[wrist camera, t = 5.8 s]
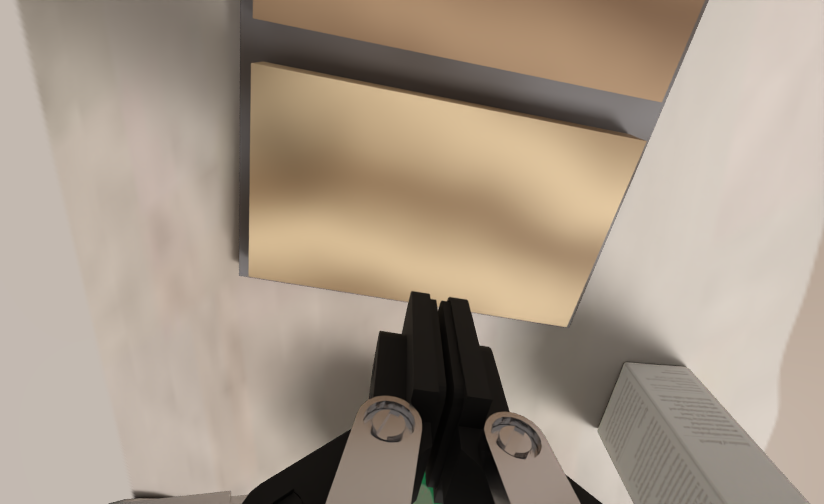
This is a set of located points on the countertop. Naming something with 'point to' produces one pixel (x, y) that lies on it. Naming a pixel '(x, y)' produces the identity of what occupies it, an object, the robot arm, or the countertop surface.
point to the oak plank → (427, 195)
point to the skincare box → (684, 444)
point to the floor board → (426, 84)
